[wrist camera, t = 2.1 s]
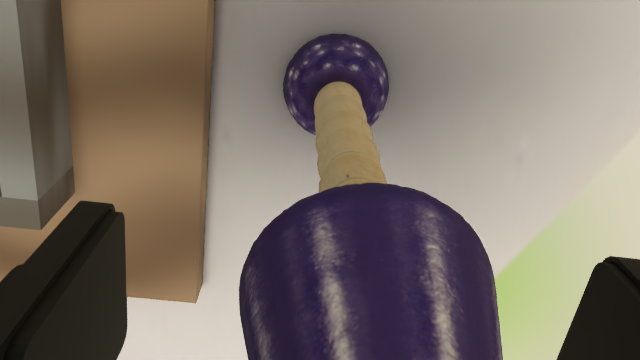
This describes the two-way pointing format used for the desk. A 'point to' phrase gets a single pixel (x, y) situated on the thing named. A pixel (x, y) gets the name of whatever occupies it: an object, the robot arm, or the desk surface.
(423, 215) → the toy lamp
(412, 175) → the desk surface
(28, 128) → the socket board
